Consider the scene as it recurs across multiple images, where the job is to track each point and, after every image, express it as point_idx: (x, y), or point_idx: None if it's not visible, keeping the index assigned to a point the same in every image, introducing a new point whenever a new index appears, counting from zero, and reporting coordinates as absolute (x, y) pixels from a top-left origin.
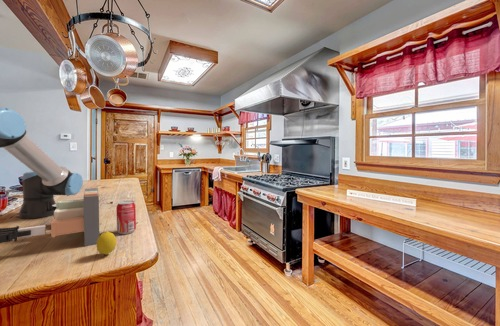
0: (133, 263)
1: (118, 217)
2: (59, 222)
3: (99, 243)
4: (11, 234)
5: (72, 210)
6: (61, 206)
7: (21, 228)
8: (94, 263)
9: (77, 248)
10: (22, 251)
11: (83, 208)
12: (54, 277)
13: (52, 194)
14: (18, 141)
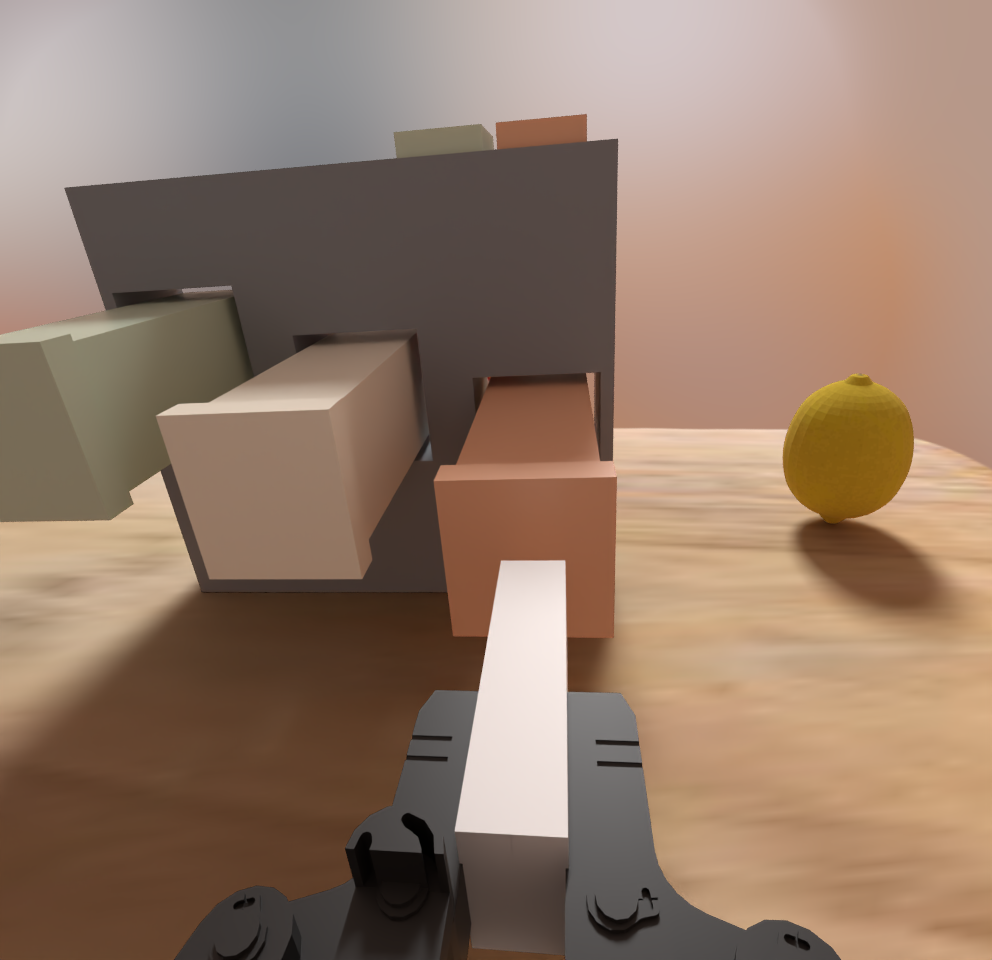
0: (976, 467)
1: (490, 377)
2: (598, 455)
3: (909, 447)
4: (813, 950)
5: (368, 366)
6: (94, 390)
7: (488, 787)
8: (964, 557)
9: (631, 622)
10: None
11: (357, 347)
12: None
13: None
14: None
